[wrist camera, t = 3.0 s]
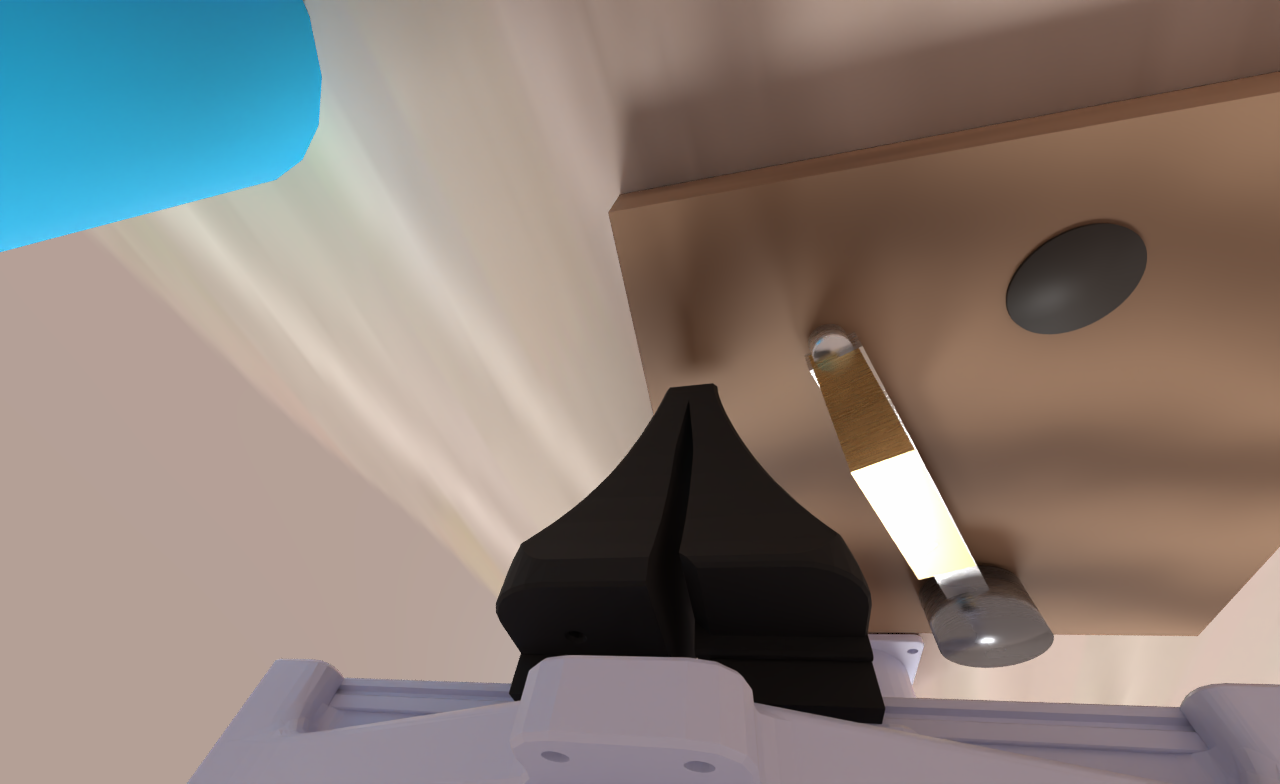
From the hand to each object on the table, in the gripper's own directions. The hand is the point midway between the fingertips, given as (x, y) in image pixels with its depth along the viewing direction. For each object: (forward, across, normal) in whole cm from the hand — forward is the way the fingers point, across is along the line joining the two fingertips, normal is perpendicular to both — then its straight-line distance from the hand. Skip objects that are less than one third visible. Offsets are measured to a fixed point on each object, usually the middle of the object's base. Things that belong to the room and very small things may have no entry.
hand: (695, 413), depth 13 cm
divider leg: (+1, -7, +5) cm, 9 cm away
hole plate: (+3, -8, +4) cm, 10 cm away
